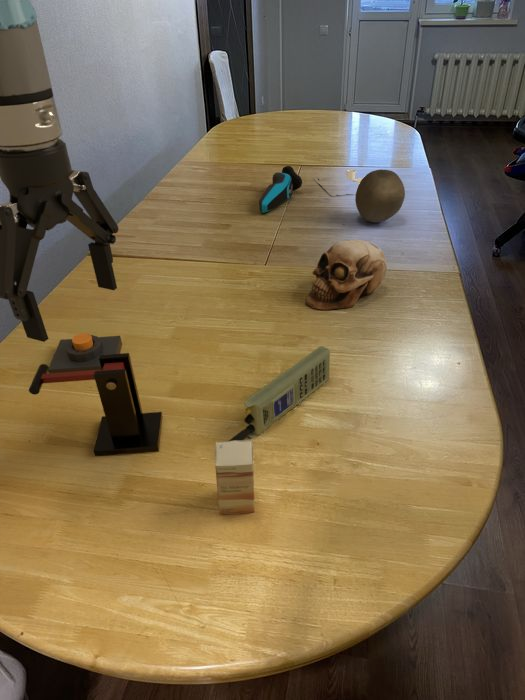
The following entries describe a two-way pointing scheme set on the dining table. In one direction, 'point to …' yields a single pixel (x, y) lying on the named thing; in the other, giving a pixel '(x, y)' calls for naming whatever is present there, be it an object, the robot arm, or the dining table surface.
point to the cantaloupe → (379, 195)
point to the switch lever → (66, 375)
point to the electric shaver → (280, 189)
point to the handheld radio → (285, 392)
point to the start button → (82, 342)
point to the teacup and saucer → (352, 176)
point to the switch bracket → (123, 412)
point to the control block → (83, 354)
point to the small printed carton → (235, 476)
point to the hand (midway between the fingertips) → (75, 311)
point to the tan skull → (346, 274)
